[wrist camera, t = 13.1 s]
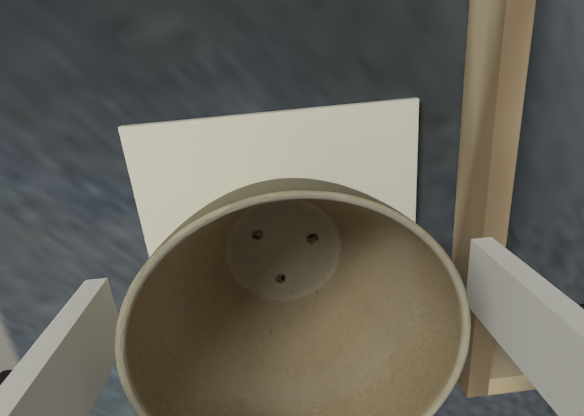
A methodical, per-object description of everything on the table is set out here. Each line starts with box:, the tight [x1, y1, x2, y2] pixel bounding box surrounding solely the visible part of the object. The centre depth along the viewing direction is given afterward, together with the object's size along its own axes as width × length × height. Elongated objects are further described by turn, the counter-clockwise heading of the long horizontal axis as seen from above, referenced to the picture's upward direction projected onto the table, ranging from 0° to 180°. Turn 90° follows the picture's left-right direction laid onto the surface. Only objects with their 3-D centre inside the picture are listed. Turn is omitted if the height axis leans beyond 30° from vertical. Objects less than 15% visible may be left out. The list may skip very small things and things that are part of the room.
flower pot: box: [115, 178, 471, 416], centre depth 14 cm, size 10×10×7 cm
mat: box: [118, 97, 419, 281], centre depth 18 cm, size 12×12×1 cm
